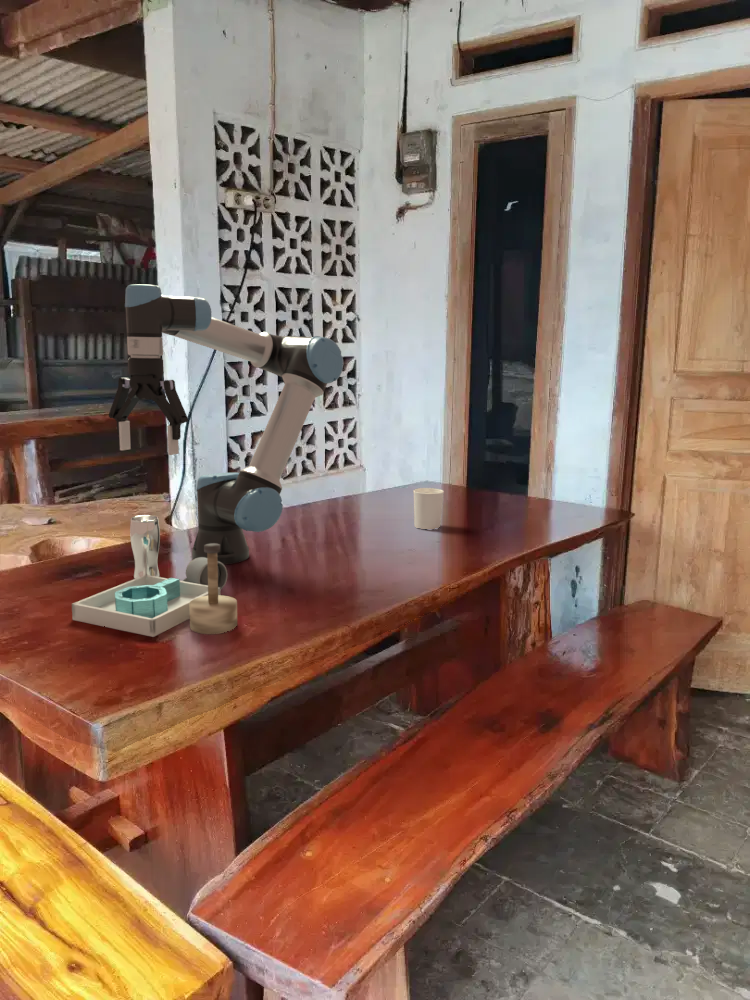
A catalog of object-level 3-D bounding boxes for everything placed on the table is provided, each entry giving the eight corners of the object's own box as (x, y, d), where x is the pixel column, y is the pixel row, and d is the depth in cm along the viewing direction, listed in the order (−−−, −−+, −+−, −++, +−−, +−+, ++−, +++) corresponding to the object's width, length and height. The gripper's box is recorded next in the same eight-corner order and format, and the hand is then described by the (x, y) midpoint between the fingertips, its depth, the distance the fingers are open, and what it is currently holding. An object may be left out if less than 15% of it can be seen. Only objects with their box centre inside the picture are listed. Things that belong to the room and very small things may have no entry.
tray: (145, 588, 182) (145, 574, 181) (220, 602, 173) (220, 587, 173) (72, 619, 161) (71, 603, 160) (153, 636, 153) (152, 620, 152)
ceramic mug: (211, 581, 188) (210, 551, 186) (228, 590, 182) (227, 558, 181) (171, 590, 181) (169, 559, 180) (188, 599, 175) (186, 567, 174)
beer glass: (167, 575, 192) (165, 517, 189) (146, 582, 186) (143, 522, 183) (147, 571, 195) (145, 513, 192) (125, 577, 189) (123, 518, 186)
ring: (144, 622, 158) (144, 604, 157) (105, 614, 162) (104, 596, 161) (194, 598, 173) (194, 581, 172) (157, 591, 177) (156, 575, 176)
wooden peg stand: (208, 614, 166) (206, 537, 162) (246, 621, 162) (245, 542, 158) (180, 629, 157) (177, 548, 154) (219, 637, 153) (218, 554, 150)
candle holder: (441, 531, 243) (442, 494, 240) (410, 529, 244) (411, 492, 242) (443, 524, 252) (445, 488, 250) (413, 522, 254) (414, 487, 251)
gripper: (89, 355, 172) (94, 449, 176) (181, 358, 162) (183, 458, 166) (113, 355, 178) (117, 445, 183) (202, 358, 169) (204, 454, 173)
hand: (149, 452), depth 175 cm, fingers open, 13 cm apart
